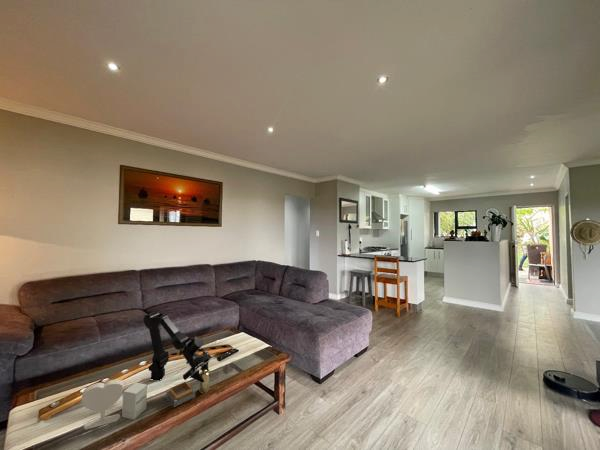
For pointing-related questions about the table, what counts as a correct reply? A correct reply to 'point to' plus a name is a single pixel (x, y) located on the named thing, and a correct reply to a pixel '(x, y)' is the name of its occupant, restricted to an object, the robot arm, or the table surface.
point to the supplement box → (134, 400)
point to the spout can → (205, 376)
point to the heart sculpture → (102, 400)
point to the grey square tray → (180, 394)
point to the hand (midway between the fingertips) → (206, 379)
